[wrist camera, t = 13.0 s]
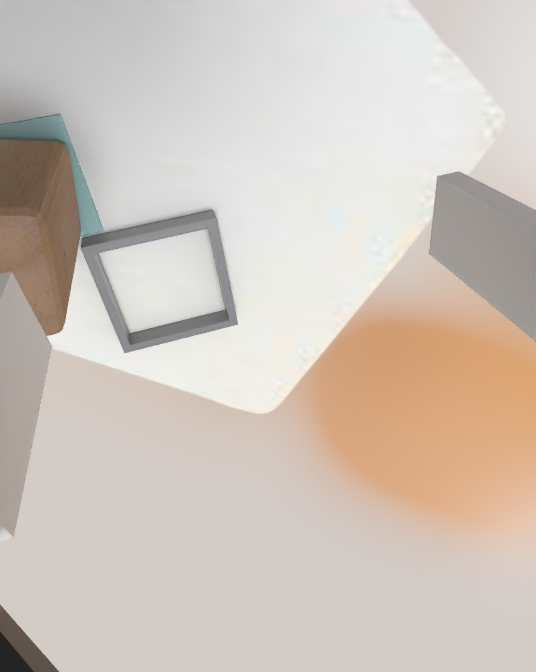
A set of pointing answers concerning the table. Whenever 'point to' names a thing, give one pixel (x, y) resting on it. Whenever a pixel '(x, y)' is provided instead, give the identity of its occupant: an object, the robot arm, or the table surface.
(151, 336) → the gray square frame
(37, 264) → the wooden block
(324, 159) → the table surface
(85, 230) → the board
